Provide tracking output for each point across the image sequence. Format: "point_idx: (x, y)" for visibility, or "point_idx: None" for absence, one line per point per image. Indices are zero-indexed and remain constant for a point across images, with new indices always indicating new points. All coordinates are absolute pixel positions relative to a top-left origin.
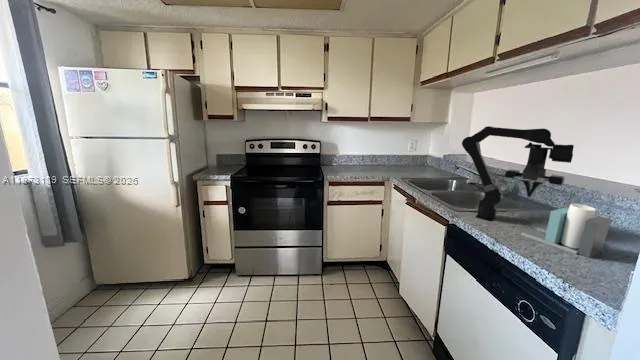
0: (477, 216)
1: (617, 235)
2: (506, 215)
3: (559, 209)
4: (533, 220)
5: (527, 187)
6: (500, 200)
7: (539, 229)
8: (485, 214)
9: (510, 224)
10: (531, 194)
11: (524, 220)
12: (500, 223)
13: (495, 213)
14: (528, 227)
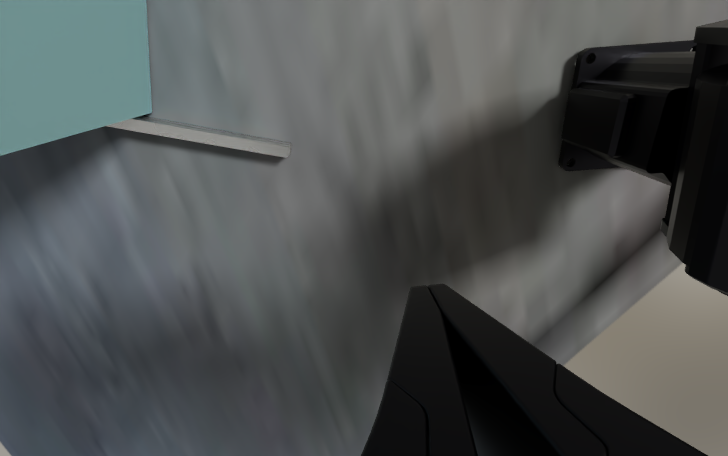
0: (690, 41)
1: (46, 420)
2: (505, 287)
3: None
4: (367, 324)
5: (567, 399)
6: (713, 93)
7: (271, 142)
8: (659, 55)
9: (447, 112)
10: (407, 310)
11: (402, 282)
12: (508, 65)
13: (595, 113)
14: (344, 159)
